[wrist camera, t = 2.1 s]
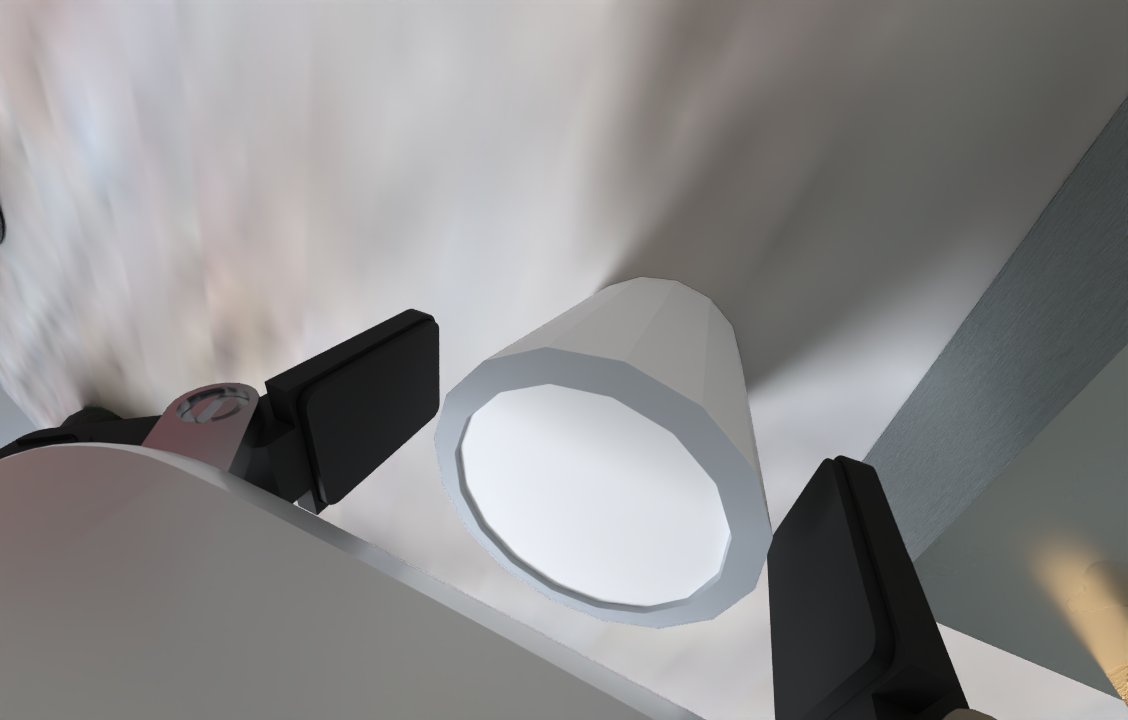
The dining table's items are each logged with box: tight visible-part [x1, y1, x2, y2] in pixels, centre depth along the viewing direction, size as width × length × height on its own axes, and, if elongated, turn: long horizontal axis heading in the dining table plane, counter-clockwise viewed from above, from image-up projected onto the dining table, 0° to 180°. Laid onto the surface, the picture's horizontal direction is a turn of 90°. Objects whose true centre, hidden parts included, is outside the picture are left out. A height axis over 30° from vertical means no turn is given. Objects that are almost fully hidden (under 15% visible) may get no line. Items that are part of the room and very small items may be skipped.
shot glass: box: [434, 277, 773, 629], centre depth 11 cm, size 7×7×7 cm
